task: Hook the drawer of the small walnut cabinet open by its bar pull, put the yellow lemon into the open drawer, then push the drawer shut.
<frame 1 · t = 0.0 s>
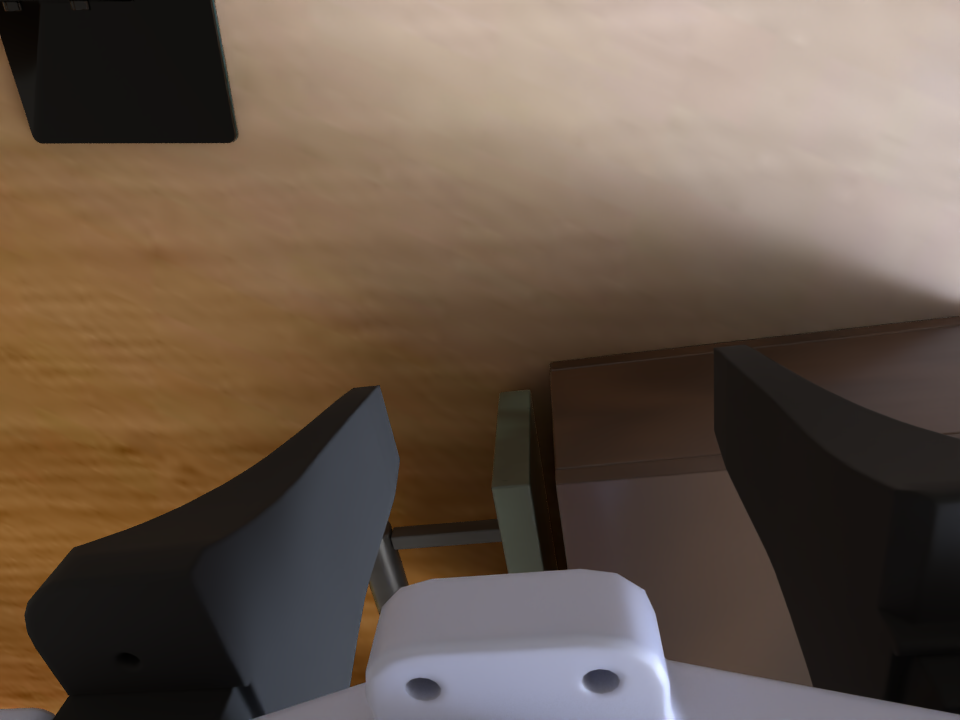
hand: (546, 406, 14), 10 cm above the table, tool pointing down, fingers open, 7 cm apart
drawer: (634, 557, 24), point 4 cm above the table, slide at 0.8 cm
cabinet: (754, 482, 27), on the table
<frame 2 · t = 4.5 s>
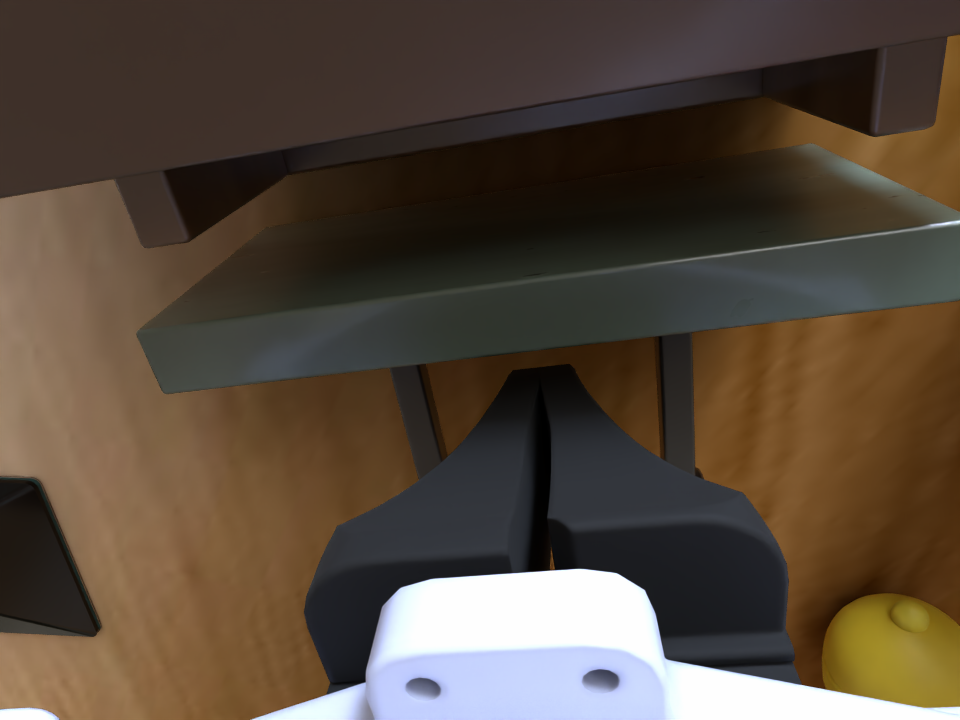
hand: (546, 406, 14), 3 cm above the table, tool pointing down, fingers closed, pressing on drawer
lemon: (868, 617, 21), on the table
drawer: (493, 33, 10), point 4 cm above the table, slide at 2.4 cm, touching gripper
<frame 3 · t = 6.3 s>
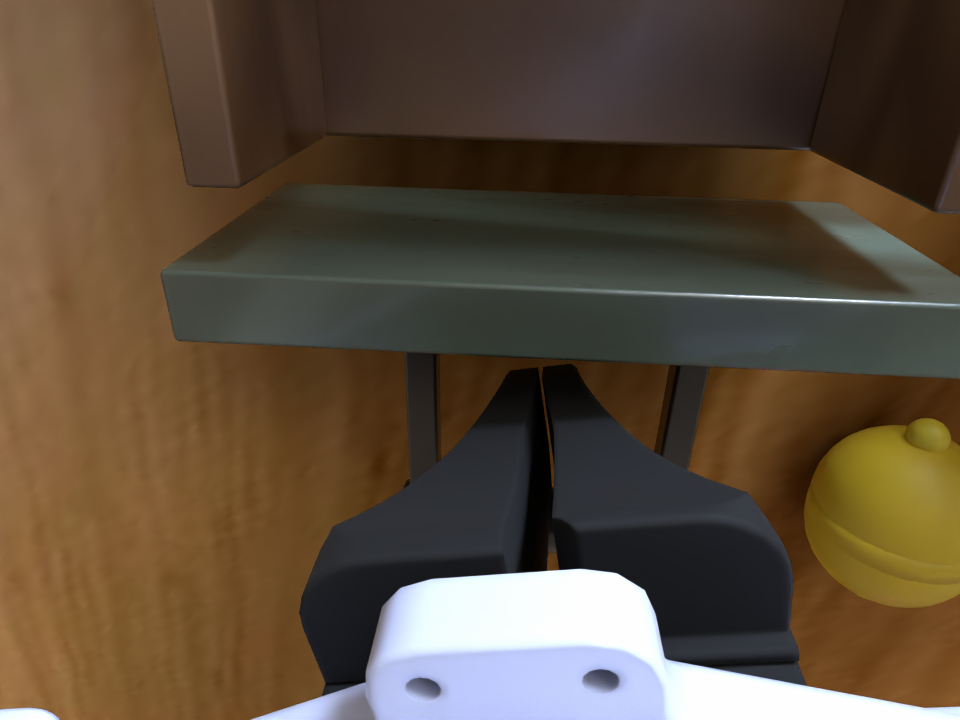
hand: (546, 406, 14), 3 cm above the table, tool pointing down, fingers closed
lemon: (860, 465, 18), on the table
drawer: (577, 36, 10), point 4 cm above the table, slide at 10.3 cm, touching gripper
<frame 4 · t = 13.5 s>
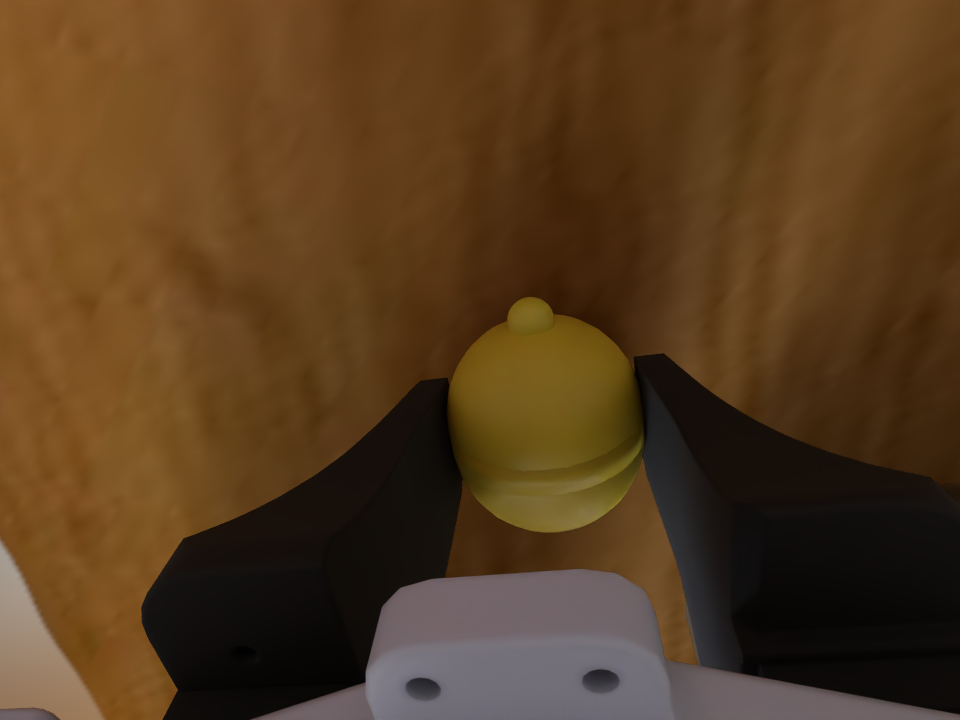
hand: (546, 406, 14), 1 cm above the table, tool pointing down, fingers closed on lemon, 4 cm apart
lemon: (543, 375, 15), on the table, touching gripper
when the fingers open (4 cm above the table, at t = 19.0 s): lemon stays where it is, resting on drawer.
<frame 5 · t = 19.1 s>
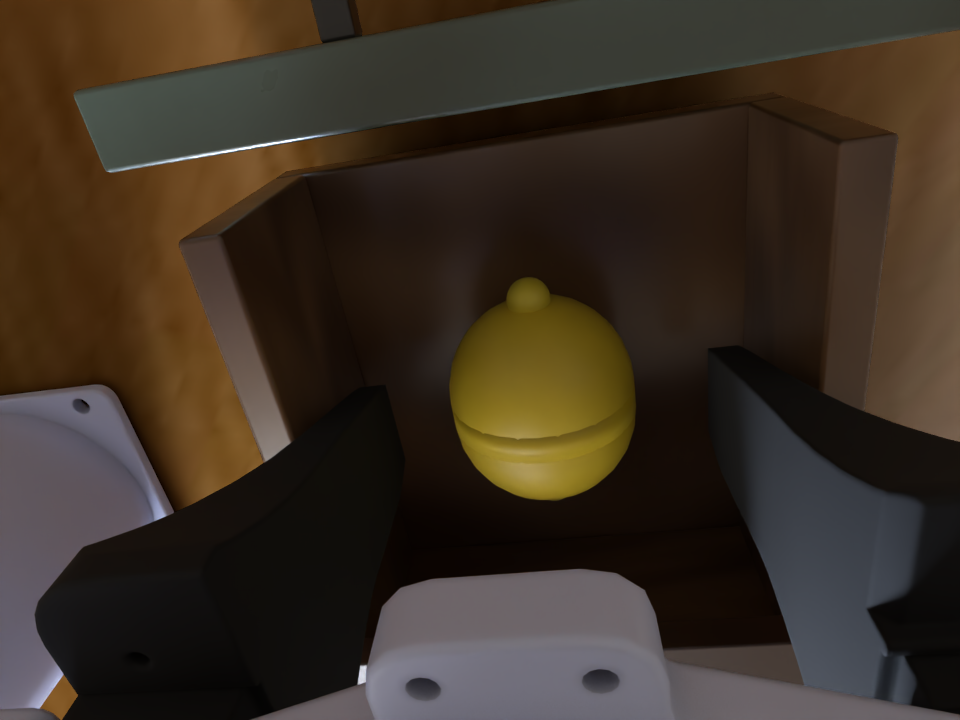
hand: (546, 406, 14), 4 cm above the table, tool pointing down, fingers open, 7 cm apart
lemon: (544, 354, 16), point 2 cm above the table, touching drawer
drawer: (527, 254, 13), point 4 cm above the table, slide at 10.3 cm, touching lemon
cabinet: (583, 618, 23), on the table
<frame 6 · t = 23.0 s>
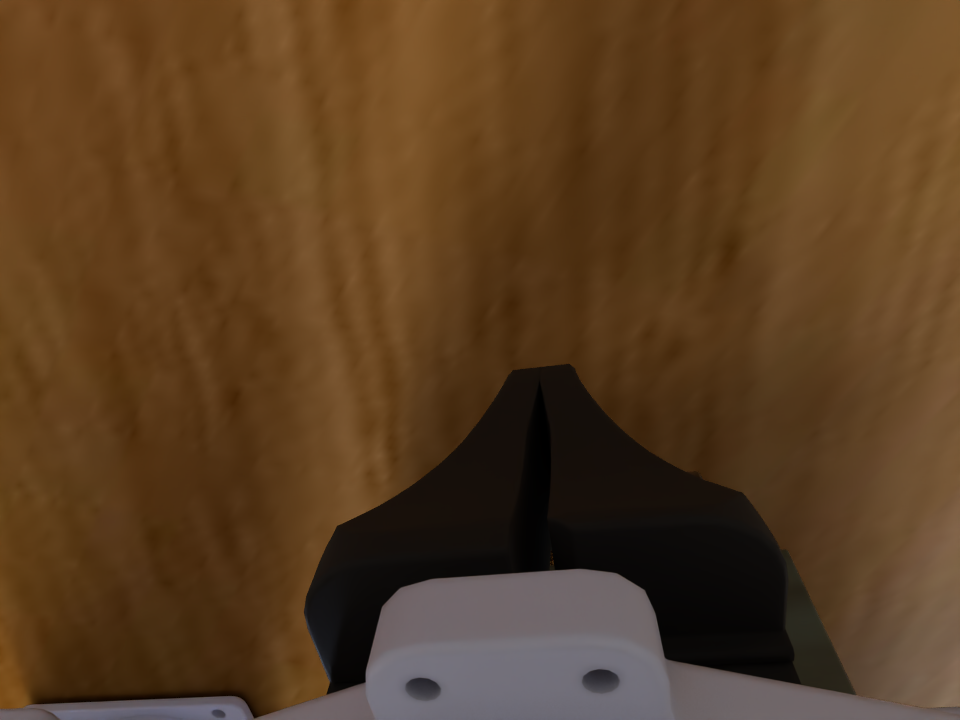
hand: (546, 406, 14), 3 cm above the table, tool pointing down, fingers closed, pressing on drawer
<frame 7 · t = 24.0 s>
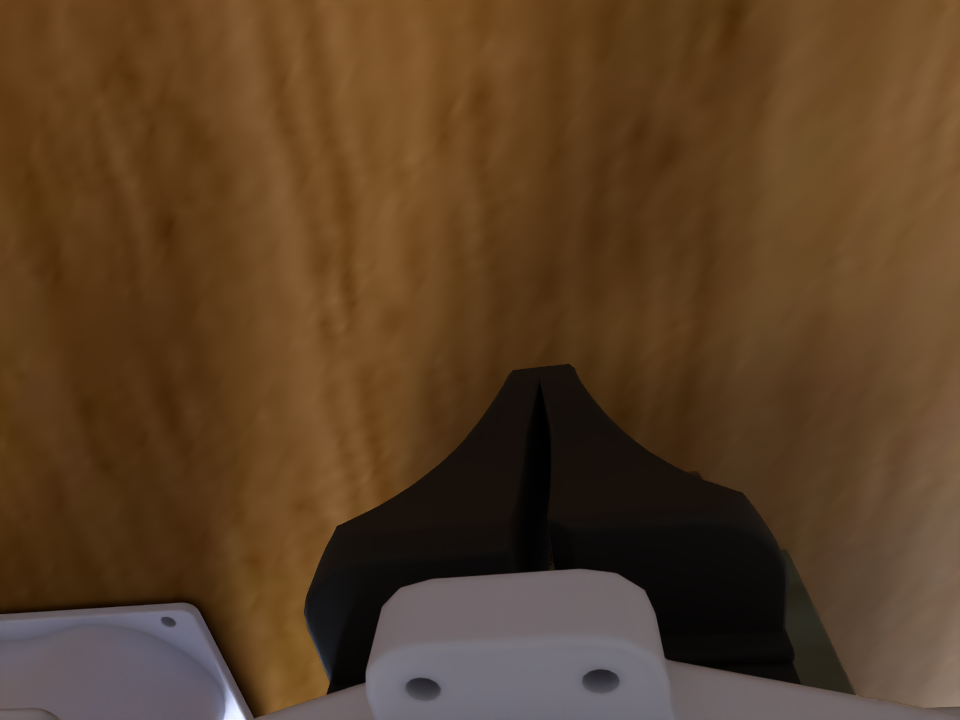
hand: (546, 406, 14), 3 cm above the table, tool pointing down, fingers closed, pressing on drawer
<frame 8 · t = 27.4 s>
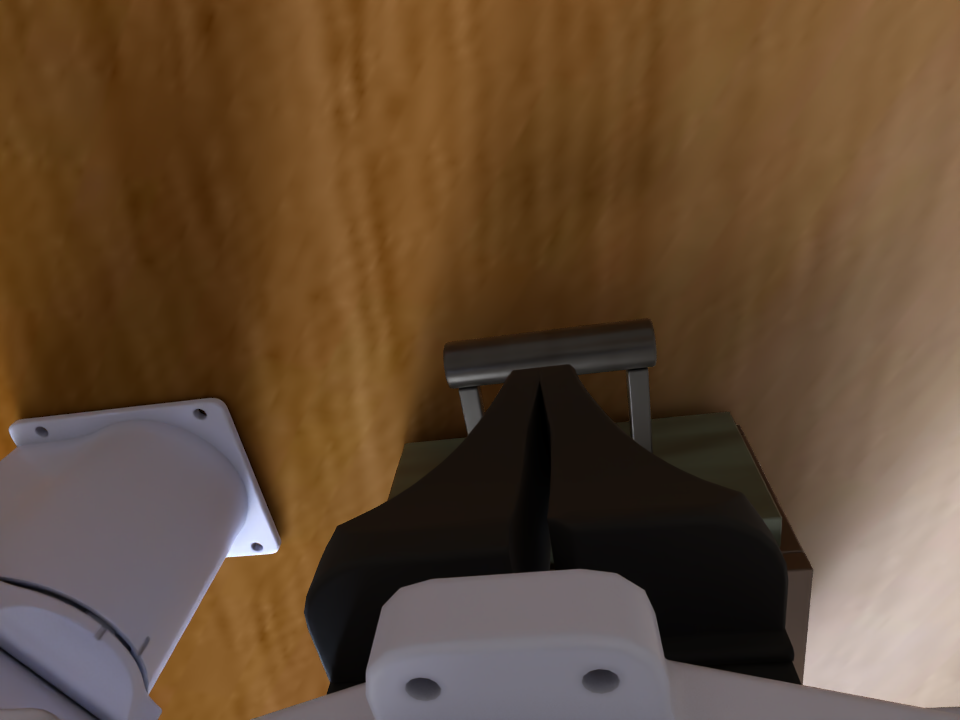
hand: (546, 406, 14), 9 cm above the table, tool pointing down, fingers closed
drawer: (577, 568, 24), point 4 cm above the table, slide at 0.0 cm, touching lemon
cabinet: (582, 580, 29), on the table
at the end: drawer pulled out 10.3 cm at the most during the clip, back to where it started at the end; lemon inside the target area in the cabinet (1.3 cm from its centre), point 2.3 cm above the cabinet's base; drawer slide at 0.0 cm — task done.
